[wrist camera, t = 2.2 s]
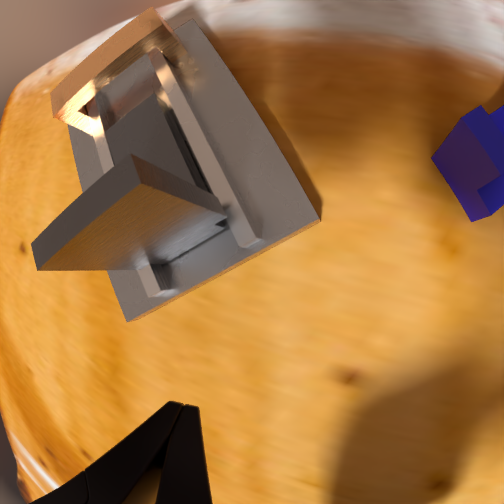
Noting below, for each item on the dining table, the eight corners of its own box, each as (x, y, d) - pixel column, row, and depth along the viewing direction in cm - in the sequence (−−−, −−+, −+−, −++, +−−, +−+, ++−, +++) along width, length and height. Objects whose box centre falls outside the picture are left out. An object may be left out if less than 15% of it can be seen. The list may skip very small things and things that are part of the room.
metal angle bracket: (237, 221, 18) (141, 183, 9) (155, 269, 19) (37, 270, 10) (175, 96, 19) (91, 24, 11) (110, 145, 21) (16, 102, 12)
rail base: (321, 221, 18) (312, 205, 13) (137, 319, 21) (88, 331, 16) (198, 26, 21) (171, -10, 16) (75, 121, 24) (36, 103, 19)
